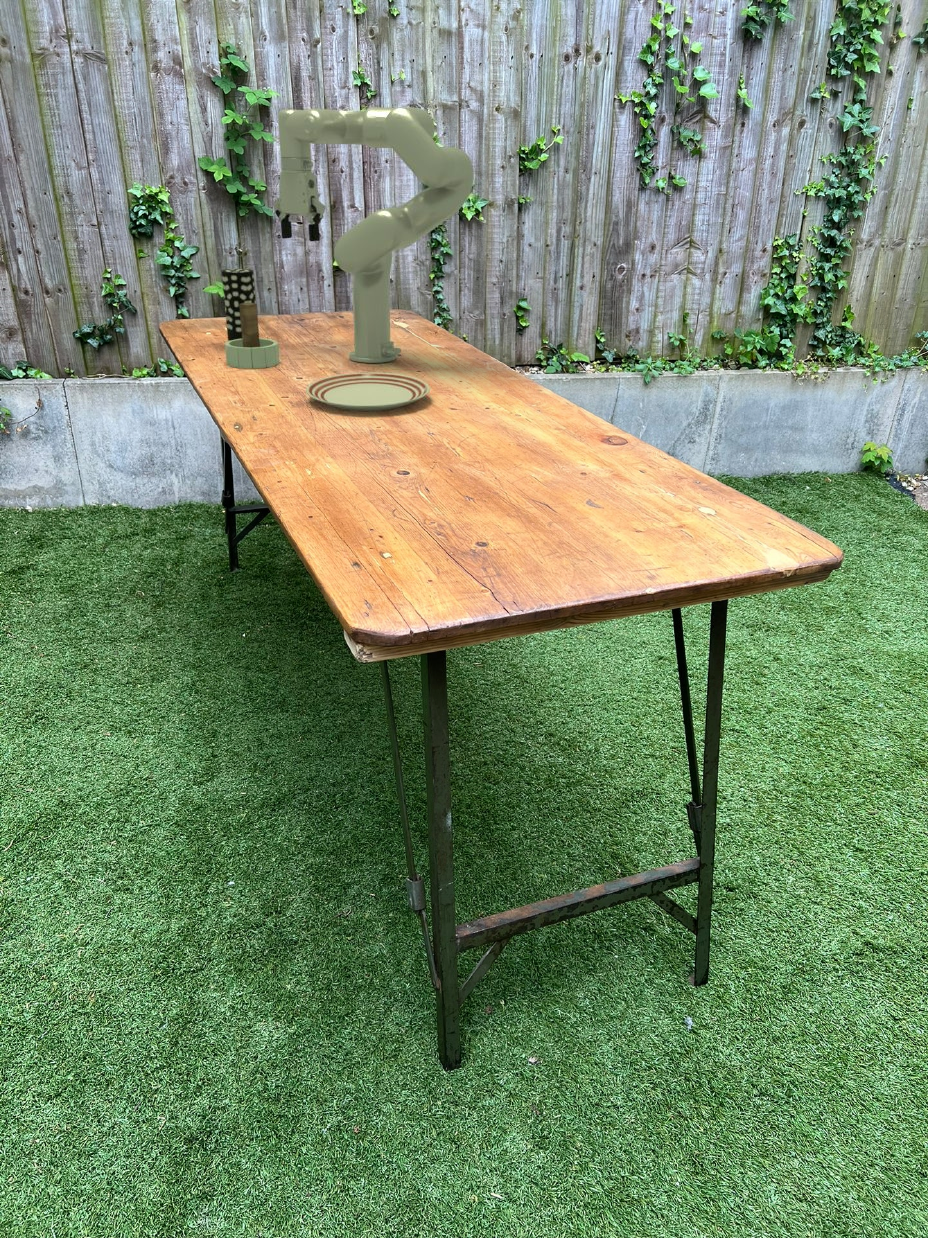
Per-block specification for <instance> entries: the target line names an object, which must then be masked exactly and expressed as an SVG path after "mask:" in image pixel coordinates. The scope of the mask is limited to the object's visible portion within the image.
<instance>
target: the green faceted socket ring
mask: <svg viewBox="0 0 928 1238" xmlns="http://www.w3.org/2000/svg"><path fill="white" fill-rule="evenodd" d="M259 341H260V347H253V348H248V347H243V341H242V339H236V340H230V341H228V340H227V341H226V342H224V350H225V351H224V352H225V361H226V365H227V366H229V367H231V368H235V367H237V368H236V369H245V370H247V369H249V370H253V369H267V368H271V367H275V365H276V366H278V365H279V364H280V361H281V359H280V349H279V348H280V347H279V342H278V341H277V340H275V339H269V338H264V337H263V338H260V337H259ZM278 363H279V364H278ZM266 367H267V368H266Z"/></svg>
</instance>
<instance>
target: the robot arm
mask: <svg viewBox="0 0 928 1238" xmlns="http://www.w3.org/2000/svg"><path fill="white" fill-rule="evenodd" d="M277 120H278V121H277V123H278V136H279V150H280V151H279V153H280V167H281V168H280V170H281V171H280V173H279V184H278V185H279V188H278V189H279V190H278V191H279V192H278V193H279V194H278V198H277V199H275V200H274V201H273V202H272V207H273V210H274V211H275V215H276V217H277V219H278V221H279V222H280V230H281V239H292V238H293V231H292V221H290V219H291V217H292V216H301V217H303V216H305V217H306V218H307V220H308V222H309V223H310V224H308V241H309V242H318V241H320V225H321V222H322V219H323V218H324V214H325V210H326V205H324V204H323V202H321V201H320V200H319V190H318V183H317V180H316V179H317V177H316V175H315V172H312V171H313V169H312V168H313V167H314V162H313V161H312V155H311V154H312V153H311V152H312V150H311V148H312V147H311V144H314V145H359V146H367V147H368V148H372V149H373V148H374V149H393V151H394V152H395V154H396V155H397V156H398V157H399V159H401V160H402V162H403V163H404V164H405V165H406V166H407V167H408V169H409V170H410V171H411V172H412V173H413V174H414V176H415V177H416V178H417V179H418V180H419V181H420V182H421V183H422V184H424V185H425V186H426V187H427V188H425V189H424V190H421V191H419V193H417V194H416V195H415V196H414V197H412V198H411V199H409V200H408V201H406V202H405V203H403V204H401V205H400V206H395V207H387V208H382V209H378V210H376V211H373V212H372V213H371V214H369V215H368V216H366V217H365V218H363V219H362V220H361V221H359V222H357V224H355V225H353V227H351V228H350V229H348V230H347V231H346V232H344V233H343V234H342V235H341V236H340V237H338V240H337V241H336V242H335V245H334V251H333V253H334V254H333V257H334V260H335V263H336V265H337V266H338V267H339V268H340V269H341V270H342V271H343V272H345V273H346V274H352V275H353V278H352V279H353V280H352V309H353V310H352V311H353V312H352V313H353V340H354V341H353V345H354V351H351V352H349V353H348V358H349V360H351V361H353V362H358V363H366V364H378V363H379V364H380V363H387V362H393V361H395V360H396V359H397V357H398V356H399V355H400V354H401V351H402V349H401V347H395V345H394V344H395V343H394V341H391V307H390V305H391V300H390V299H391V297H390V295H391V293H390V291H391V290H390V289H391V288H390V286H391V284H390V283H391V281H390V280H391V271H392V270H391V269H392V261H393V252H394V251H400V250H403V249H407V248H410V247H411V246H412V245H414V244H415V243H416V242H418V241H419V240H420V239H422V238H423V237H424V236H426V235H427V234H429V233H430V232H432V231H433V230H435V229H436V228H437V227H438V226H440V225H441V224H443V223H444V222H445V221H447V220H448V219H449V218H451V217H452V216H454V215H455V214H456V213H457V212H458V211H459V210H460V209H461V208H463V206H464V204H465V203H466V202H467V200H468V198H469V197H470V194H471V191H472V188H473V184H474V175H475V174H474V165H473V161H472V159H471V158H470V156H469V155H468V154H467V153H466V152H465V151H464V150H462V149H460V148H458V147H453V146H439V144H438V143H437V142H436V141H435V140H434V136H435V133H436V127H435V122H434V119H433V118H432V116H431V114H430V113H429V112H428V111H426V110H424V109H422V108H418V107H407V106H400V107H398V106H397V107H381V106H380V107H379V106H378V107H377V106H376V107H374V106H372V107H368V108H367V109H365V110H343V109H342V110H339V109H329V108H328V109H327V108H308V109H282V110H279V112H278V115H277Z"/></svg>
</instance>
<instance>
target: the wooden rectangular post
mask: <svg viewBox="0 0 928 1238" xmlns="http://www.w3.org/2000/svg"><path fill="white" fill-rule="evenodd" d="M257 306H258V305H257V303H256V304H254V303H242V304H239V307H240V319H241V330H242V341H243V347H248V348H253V347H260V341H259V338H260V330H259V320H258V316H259V315H258V307H257Z"/></svg>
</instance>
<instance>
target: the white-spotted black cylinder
mask: <svg viewBox="0 0 928 1238" xmlns="http://www.w3.org/2000/svg"><path fill="white" fill-rule="evenodd" d="M220 273H221V279H222V280H221V283H222V292H223V302H224V312H225V323H226V332H227V342H228V341H230V340H236V339H242V330H241V319H240V307H239V304H242V303H254V304H257V299H256V288H255V276H254V275H255V274H254V270H253V269H249V268H248V269H247V268H229V269H228V268H226V269H223V270H221V272H220Z"/></svg>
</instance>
